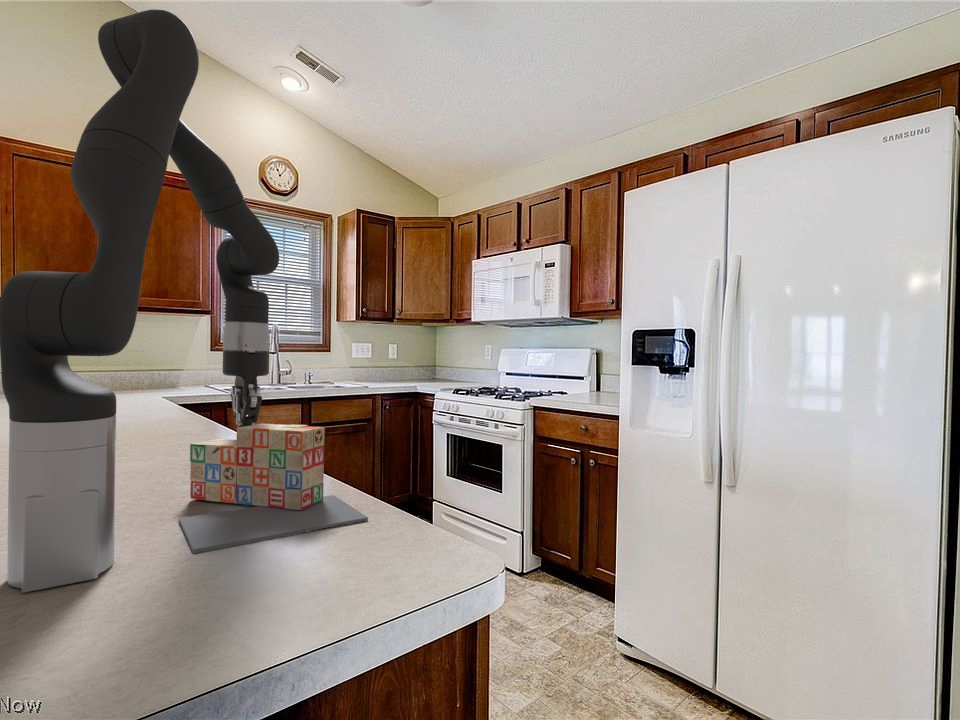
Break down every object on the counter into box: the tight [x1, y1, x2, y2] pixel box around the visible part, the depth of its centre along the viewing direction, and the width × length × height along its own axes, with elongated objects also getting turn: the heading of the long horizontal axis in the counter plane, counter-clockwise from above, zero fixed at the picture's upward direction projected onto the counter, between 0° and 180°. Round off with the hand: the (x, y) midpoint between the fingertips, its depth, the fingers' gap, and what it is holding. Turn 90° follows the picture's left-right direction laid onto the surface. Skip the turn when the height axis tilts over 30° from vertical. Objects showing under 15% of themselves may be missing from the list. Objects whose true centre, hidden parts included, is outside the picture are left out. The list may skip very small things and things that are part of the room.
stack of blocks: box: [189, 423, 326, 510], centre depth 84 cm, size 21×6×12 cm, turn 74°
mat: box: [178, 494, 369, 554], centre depth 76 cm, size 14×23×1 cm, turn 127°
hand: (244, 446), depth 91 cm, fingers closed
